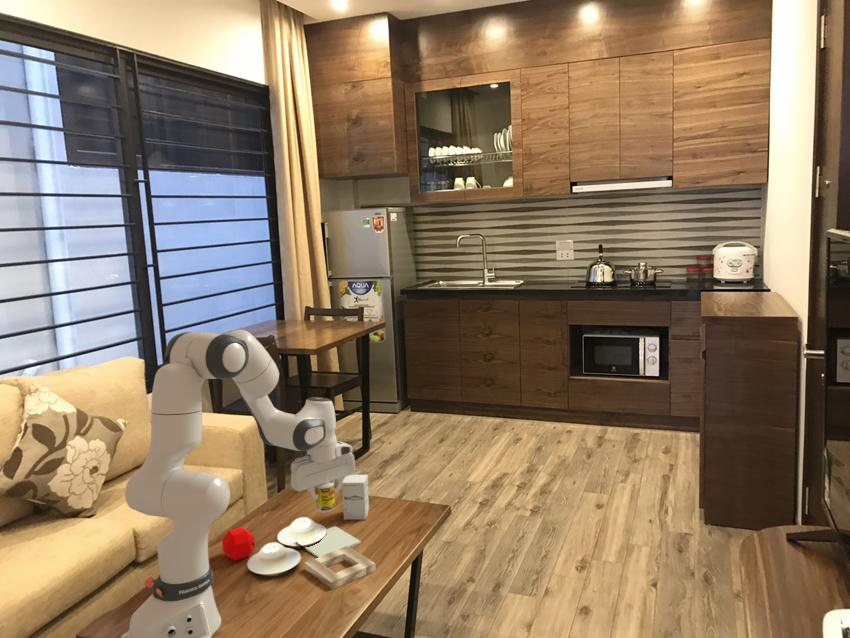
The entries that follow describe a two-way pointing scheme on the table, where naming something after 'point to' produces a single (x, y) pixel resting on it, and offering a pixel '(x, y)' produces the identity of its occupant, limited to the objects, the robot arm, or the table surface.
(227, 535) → the ball
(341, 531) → the sage tile
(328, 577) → the birch caddy
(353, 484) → the supplement box
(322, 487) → the supplement bottle
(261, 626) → the table surface
